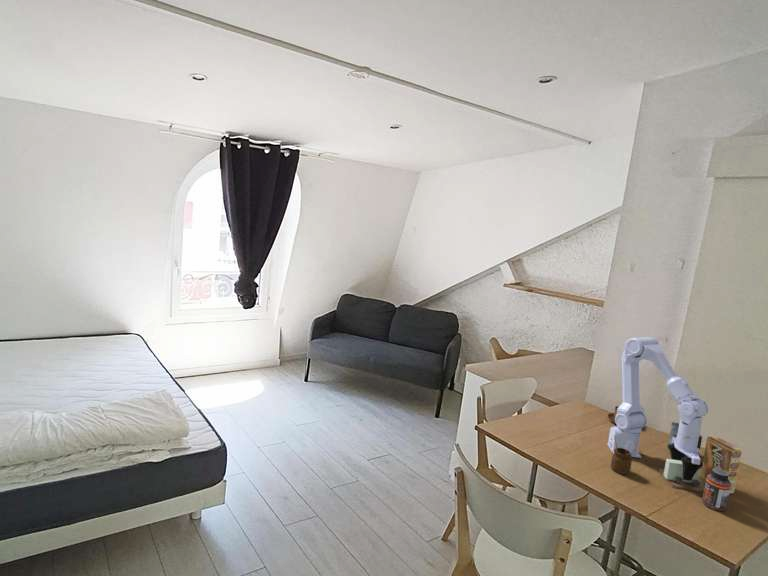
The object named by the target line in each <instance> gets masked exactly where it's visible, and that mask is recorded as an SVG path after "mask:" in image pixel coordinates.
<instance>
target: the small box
mask: <svg viewBox="0 0 768 576" xmlns="http://www.w3.org/2000/svg"><path fill="white" fill-rule="evenodd" d="M670 425H671V426H670V427H671V428H670V433H669V438H668V442H667V448H668V449H669V447H668V444H672V445H673V443H672V437H677V434H678V428H679V422H675V421H674V422H671V424H670ZM702 440H703V436H702V435H701V434H700V435H699V440H698V445H697V448H698V449H700V450H701V445H702ZM698 455H700V452H698ZM684 458H687V459H688V456H687V455H685V456H684Z"/></svg>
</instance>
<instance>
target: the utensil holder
mask: <svg viewBox="0 0 768 576" xmlns="http://www.w3.org/2000/svg"><path fill="white" fill-rule="evenodd" d="M614 440H615V445H616V448H615V450H614V453H613V452H612V455H611V460H610V468H611V470H612V471H613V472H615V473H617V474H620V475H629V474H630V472H631V467H632V457H631V452H630V450H629V451H628V450H626V449H623V448H617V443H616V438H615V435H614ZM627 443H628V442H627ZM632 443H633V442H632ZM629 444H630V443H629ZM626 445H627V444H626ZM633 445H634V444H633ZM631 446H632V445H631ZM627 448H628V447H627ZM633 448H634V446H633ZM632 450H633V449H632Z"/></svg>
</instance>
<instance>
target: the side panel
mask: <svg viewBox="0 0 768 576" xmlns="http://www.w3.org/2000/svg"><path fill="white" fill-rule="evenodd" d="M664 469H665V468H658V471H659V472H660V473H661V475H662V476H663V478H664V479H665V480H666V481H667V483H668V484H669V485H670V486H671V488H675V489H682V490H687V491H695V492H701V493H704V488H705V483H706V482H704V481H703V479H702V478H701V477H700V476H701V475H699V474H698V480H694V479H693V481H692V483H689V482H683V479H682V478H680V477H676V480H669V479H666V478H665V476H664Z"/></svg>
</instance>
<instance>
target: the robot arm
mask: <svg viewBox="0 0 768 576" xmlns="http://www.w3.org/2000/svg"><path fill="white" fill-rule="evenodd" d="M642 360H647V361H650V362H652V363H653V365H654V366H655V367H656V369H657V370H658V371H659V372H660V374H661V375H662V376H663V377H664V379H665V380H666V388H667V389H668V391H669V392H670V393H671V395H672V397H673V399H675V401H676V403H677V404H678V405H677V411H678V413H679V422H678V423H679V428H678V434H677V437H672V443H673V445H672V444H668V443H667V446H668V447H669V448H668V447H667V448H668V450H669V453H670V459H673V460H679V461H682V464H683V479H684V480H689V481H691V480H692V478H693V476H694V475H695V473H696V472H697V470H698V469H699V470H701V469H702V466H703V462H701V460H702V459H701V458H700V456H699V455H700V454H699V455H698V452H699V453H701V448H700V449H698V448H697V445H698V440H699V435H701V434H700V433H701V429H702V428H701V427H702V424H703V417H705V416H706V415H707V414H708V411H709V407H708V405H707V402H706V401H705V400H704V399H702V398H699V397H698V396H697V395H696V394H695V393H694V391H693V389H691V387H690V386H689V382H688V381H687V380H685V379H684V378H682V377H679V376H678V375H677V373H676V371H675V370H674V368H673V367H672V366H671V364H670V362H669V360H668V359H667V357H666V356H665V354H664V351H663V346H662V345H661V344H660V342H659V341H658V340H657V339H656V338H655V337H653V336H647V337H630V338H629V339H627V340H626V341H625V342H624V349H623V351H622V354H621V380H622V381H621V382H622V383H621V385H622V387H621V388H622V390H621V391H622V395H621V396H622V403H621V404H620V405H618V406H619V407H618V408H617V414H616V416H615V422H616V423H615V424H616V426H611V427H610V429H609V434H608V442H607V443H606V445H607V446H608V448H609V449H610V451H611V452H612V454H613V453H614V450H615V448H616V445H615V440H614V435H615V438H616V443H617V448H623V449H626V450H628V451H629V450H630V452H631V458H638V459H642V456H641V454H640V453H639V452H638V451H639V444H640V438H641V431H642V430H643V428H644V427H646V425H647V423H648V420H647V417H646V414H645V408H644V407H643V405H641V404H640V362H641V361H642ZM627 442H628V443H627ZM632 442H633V443H632ZM629 443H630V444H629ZM626 444H627V445H626ZM633 444H634V445H633ZM631 445H632V446H631ZM633 446H634V448H633ZM627 447H628V448H627ZM632 449H633V450H632ZM685 455H687V456H688V459H687V458H684V456H685Z"/></svg>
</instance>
